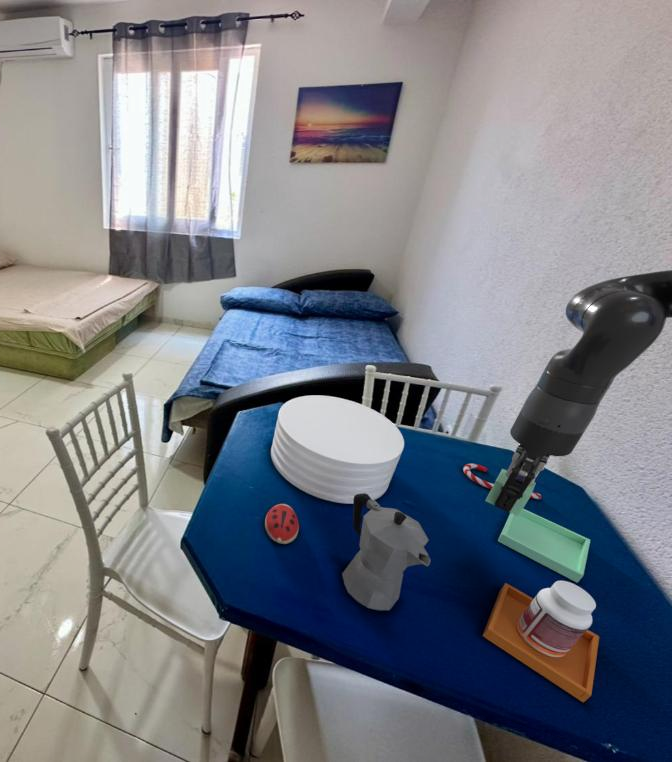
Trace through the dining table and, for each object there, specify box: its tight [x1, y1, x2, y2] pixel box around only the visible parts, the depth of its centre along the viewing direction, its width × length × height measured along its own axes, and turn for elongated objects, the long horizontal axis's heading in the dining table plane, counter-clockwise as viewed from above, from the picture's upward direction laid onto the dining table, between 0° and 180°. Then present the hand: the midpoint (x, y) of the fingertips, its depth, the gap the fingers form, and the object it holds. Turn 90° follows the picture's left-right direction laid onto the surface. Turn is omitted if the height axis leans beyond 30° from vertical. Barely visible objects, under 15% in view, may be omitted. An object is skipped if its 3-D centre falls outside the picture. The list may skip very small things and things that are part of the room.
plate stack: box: [270, 394, 405, 505], centre depth 100 cm, size 28×28×12 cm
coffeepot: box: [341, 493, 431, 611], centre depth 69 cm, size 15×9×18 cm, turn 16°
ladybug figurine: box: [264, 503, 300, 545], centre depth 83 cm, size 7×10×4 cm
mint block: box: [485, 468, 537, 516], centre depth 69 cm, size 5×5×5 cm
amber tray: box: [482, 582, 600, 704], centre depth 65 cm, size 12×12×2 cm
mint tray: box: [497, 508, 591, 584], centre depth 82 cm, size 12×12×2 cm
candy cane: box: [462, 463, 542, 500], centre depth 97 cm, size 8×1×15 cm
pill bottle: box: [517, 580, 597, 657], centre depth 62 cm, size 6×6×11 cm
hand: (505, 500), depth 70 cm, fingers closed on mint block, 4 cm apart
